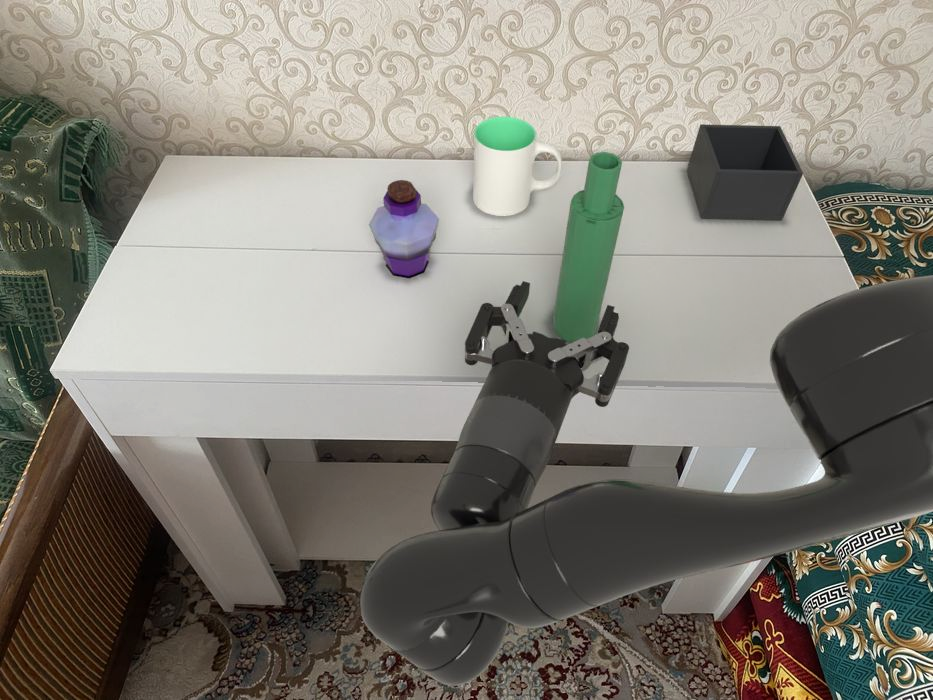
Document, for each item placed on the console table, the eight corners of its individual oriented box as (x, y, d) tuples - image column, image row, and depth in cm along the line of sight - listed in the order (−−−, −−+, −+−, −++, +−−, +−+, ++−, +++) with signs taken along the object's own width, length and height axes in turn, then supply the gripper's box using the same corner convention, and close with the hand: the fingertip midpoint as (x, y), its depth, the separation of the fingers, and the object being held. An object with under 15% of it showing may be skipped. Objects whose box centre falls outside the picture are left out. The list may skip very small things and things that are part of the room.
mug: (554, 180, 100) (562, 116, 92) (560, 215, 95) (569, 150, 87) (472, 181, 100) (473, 116, 92) (473, 216, 95) (475, 151, 87)
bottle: (600, 316, 83) (638, 151, 65) (590, 347, 80) (627, 182, 62) (558, 305, 84) (585, 141, 66) (547, 335, 81) (571, 170, 63)
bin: (761, 172, 102) (780, 125, 96) (781, 220, 95) (803, 173, 89) (686, 171, 102) (700, 124, 96) (700, 219, 95) (716, 171, 89)
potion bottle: (454, 259, 89) (453, 182, 80) (411, 296, 85) (405, 220, 76) (403, 233, 92) (397, 156, 83) (360, 267, 88) (348, 190, 79)
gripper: (602, 429, 53) (647, 291, 63) (433, 375, 56) (500, 252, 66) (588, 478, 59) (631, 344, 68) (435, 426, 62) (497, 306, 72)
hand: (567, 299), depth 67 cm, fingers open, 8 cm apart
